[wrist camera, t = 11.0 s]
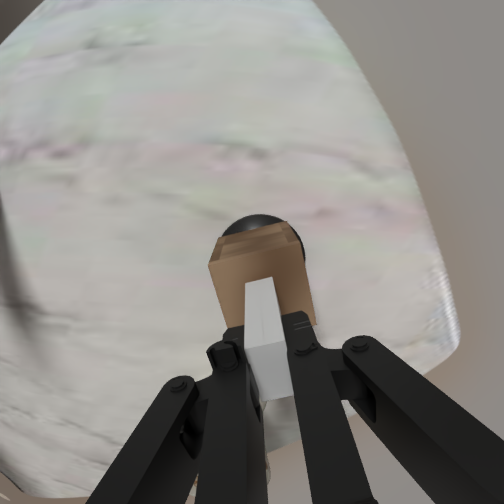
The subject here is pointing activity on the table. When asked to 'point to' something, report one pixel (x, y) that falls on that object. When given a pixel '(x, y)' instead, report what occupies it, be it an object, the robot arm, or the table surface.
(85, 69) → the table surface
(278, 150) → the table surface
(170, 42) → the table surface
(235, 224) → the post
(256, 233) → the brown shipping carton
